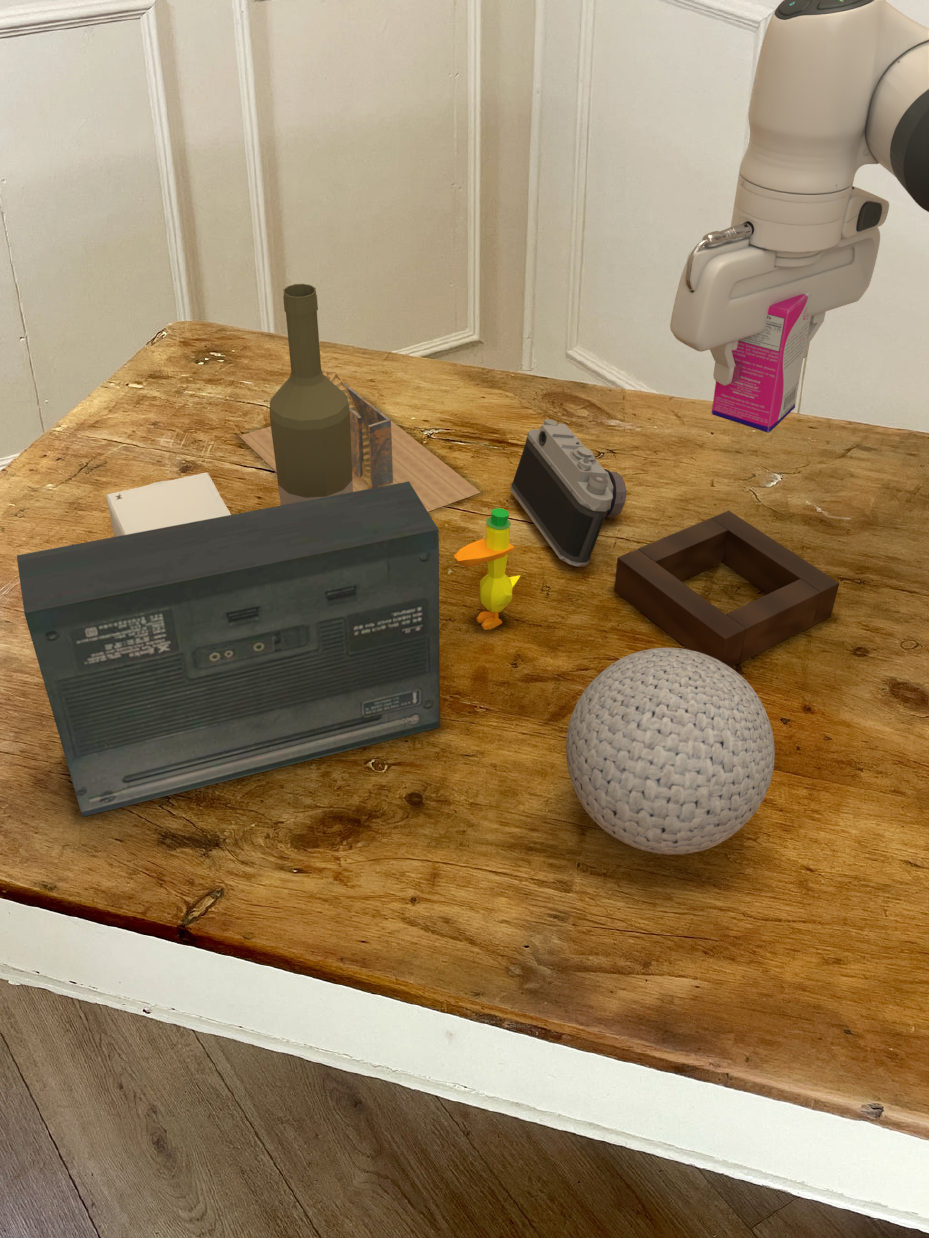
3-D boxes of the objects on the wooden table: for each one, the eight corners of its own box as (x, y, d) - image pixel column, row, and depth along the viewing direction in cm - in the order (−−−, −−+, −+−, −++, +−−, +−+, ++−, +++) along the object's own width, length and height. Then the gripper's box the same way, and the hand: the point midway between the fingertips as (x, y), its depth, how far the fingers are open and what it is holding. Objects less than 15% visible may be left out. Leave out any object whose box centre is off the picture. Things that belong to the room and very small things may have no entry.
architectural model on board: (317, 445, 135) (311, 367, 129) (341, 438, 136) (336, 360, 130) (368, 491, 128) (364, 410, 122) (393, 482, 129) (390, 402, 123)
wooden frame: (723, 543, 121) (728, 510, 118) (831, 617, 112) (840, 582, 109) (613, 591, 114) (617, 557, 112) (718, 673, 105) (725, 638, 103)
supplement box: (735, 389, 110) (756, 270, 103) (796, 408, 107) (821, 287, 100) (707, 414, 106) (726, 292, 99) (768, 435, 104) (793, 311, 97)
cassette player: (413, 675, 105) (408, 481, 92) (439, 727, 100) (438, 529, 87) (72, 755, 97) (16, 555, 84) (82, 816, 92) (24, 613, 79)
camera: (637, 572, 119) (673, 486, 114) (563, 570, 116) (596, 480, 110) (573, 492, 131) (603, 410, 125) (504, 487, 127) (531, 402, 122)
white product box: (155, 690, 103) (126, 548, 94) (131, 630, 109) (101, 492, 100) (256, 661, 106) (238, 521, 97) (227, 604, 112) (207, 468, 103)
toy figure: (464, 644, 108) (466, 535, 101) (446, 622, 110) (446, 514, 103) (528, 622, 111) (534, 514, 103) (509, 601, 113) (513, 494, 106)
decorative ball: (535, 863, 88) (545, 716, 79) (589, 731, 99) (604, 588, 90) (737, 922, 84) (773, 774, 75) (770, 778, 95) (806, 633, 86)
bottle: (370, 600, 113) (355, 300, 94) (299, 617, 111) (268, 314, 92) (347, 559, 118) (328, 267, 99) (278, 575, 116) (245, 280, 97)
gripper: (720, 251, 89) (696, 415, 98) (904, 200, 98) (866, 355, 107) (664, 225, 93) (645, 385, 102) (845, 178, 102) (814, 329, 111)
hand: (760, 369), depth 104 cm, fingers closed on supplement box, 7 cm apart
